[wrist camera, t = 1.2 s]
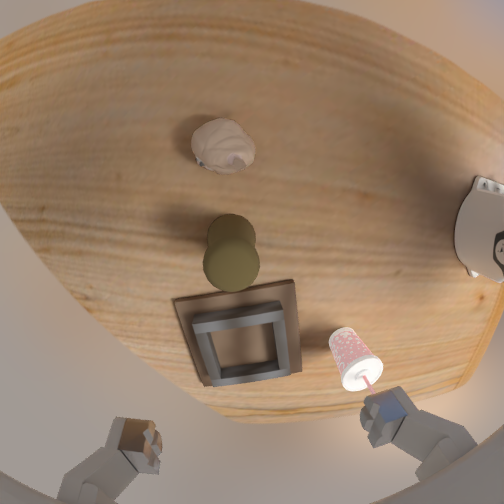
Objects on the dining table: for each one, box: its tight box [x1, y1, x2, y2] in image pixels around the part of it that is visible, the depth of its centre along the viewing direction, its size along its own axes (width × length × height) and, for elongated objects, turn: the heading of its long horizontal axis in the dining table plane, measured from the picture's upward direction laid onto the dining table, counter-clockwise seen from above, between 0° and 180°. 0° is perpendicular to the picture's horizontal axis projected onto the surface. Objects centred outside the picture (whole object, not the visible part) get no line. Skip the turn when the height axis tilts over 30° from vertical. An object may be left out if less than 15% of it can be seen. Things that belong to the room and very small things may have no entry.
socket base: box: [175, 280, 302, 387], centre depth 37 cm, size 16×16×4 cm
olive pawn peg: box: [203, 214, 260, 292], centre depth 29 cm, size 6×6×11 cm
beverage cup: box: [329, 327, 383, 394], centre depth 33 cm, size 6×6×14 cm
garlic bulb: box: [191, 118, 256, 175], centre depth 27 cm, size 7×6×8 cm
